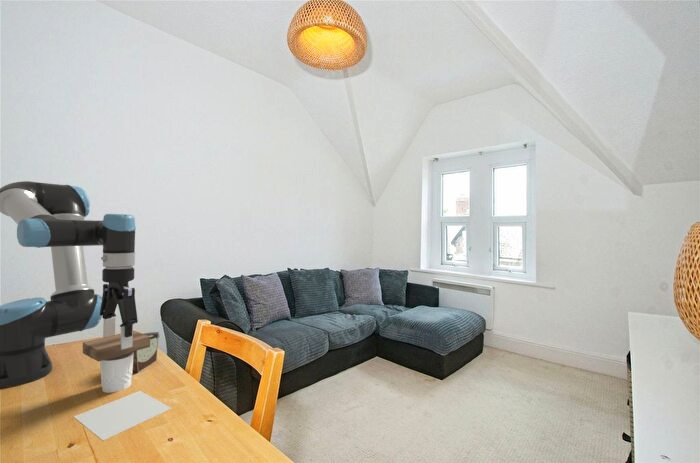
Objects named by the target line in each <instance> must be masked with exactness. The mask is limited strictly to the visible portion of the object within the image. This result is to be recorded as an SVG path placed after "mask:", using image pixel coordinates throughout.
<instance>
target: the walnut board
mask: <svg viewBox="0 0 700 463" xmlns="http://www.w3.org/2000/svg"><path fill="white" fill-rule="evenodd" d="M120 344H121V333H118V334H115V335H113V336H109V337H105V338H103V337H100V338H96V339H93V340H88V341H83V342H82V354H84V355H85V356H87V357H89V358H90V359H93V360H95V361H96V362H100V361H102V360H106V359H109V358H113V357H116V356H120V355H123V354H127V353H130V352H134V351H137V350H141V349H144V348H148V347H150V336H147V335H144V333H141V332H139V331H137V330H133V344H132V347H130V348H126V349H122V350H121V345H120Z"/></svg>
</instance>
